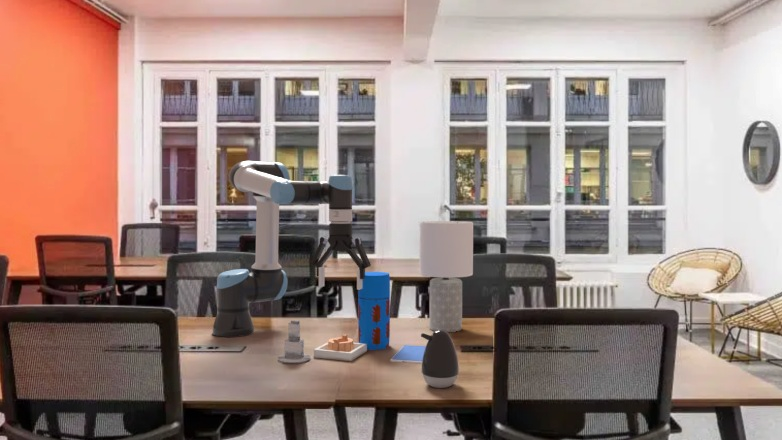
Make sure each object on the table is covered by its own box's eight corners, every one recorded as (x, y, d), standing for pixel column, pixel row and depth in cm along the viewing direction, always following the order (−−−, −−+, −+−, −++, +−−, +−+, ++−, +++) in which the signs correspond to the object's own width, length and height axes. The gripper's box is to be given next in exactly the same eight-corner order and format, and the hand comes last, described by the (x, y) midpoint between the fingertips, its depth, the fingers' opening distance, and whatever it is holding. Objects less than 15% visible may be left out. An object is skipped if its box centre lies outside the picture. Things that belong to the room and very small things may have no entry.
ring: (334, 348, 204) (334, 333, 203) (356, 350, 201) (356, 335, 201) (324, 354, 196) (324, 338, 196) (346, 356, 193) (346, 340, 193)
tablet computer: (428, 365, 187) (428, 361, 187) (389, 363, 190) (389, 358, 190) (439, 350, 206) (439, 346, 206) (403, 348, 209) (403, 344, 209)
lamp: (481, 327, 240) (481, 222, 238) (457, 337, 223) (458, 223, 221) (434, 321, 251) (435, 220, 249) (409, 330, 234) (409, 222, 232)
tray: (313, 357, 195) (313, 349, 195) (331, 347, 207) (331, 340, 207) (350, 361, 190) (350, 353, 190) (366, 351, 202) (366, 343, 202)
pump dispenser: (418, 380, 171) (418, 326, 170) (454, 379, 172) (455, 325, 171) (423, 391, 161) (423, 334, 160) (462, 390, 162) (462, 333, 161)
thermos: (394, 344, 212) (394, 272, 211) (381, 351, 202) (381, 276, 201) (366, 341, 217) (367, 271, 216) (352, 347, 207) (352, 274, 206)
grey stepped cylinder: (272, 361, 189) (271, 322, 189) (288, 354, 198) (288, 316, 198) (300, 365, 186) (300, 325, 185) (315, 357, 195) (315, 318, 194)
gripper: (300, 222, 198) (300, 287, 199) (371, 224, 189) (371, 291, 190) (311, 221, 205) (311, 284, 206) (380, 222, 196) (380, 288, 197)
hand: (340, 288), depth 198 cm, fingers open, 13 cm apart
